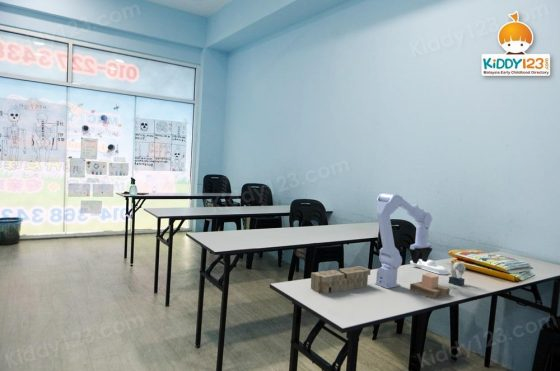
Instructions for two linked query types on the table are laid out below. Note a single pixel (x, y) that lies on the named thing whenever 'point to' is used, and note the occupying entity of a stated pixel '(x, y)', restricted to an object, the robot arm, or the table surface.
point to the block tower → (339, 279)
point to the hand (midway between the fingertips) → (419, 262)
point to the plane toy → (430, 266)
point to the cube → (430, 280)
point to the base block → (429, 290)
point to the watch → (456, 278)
